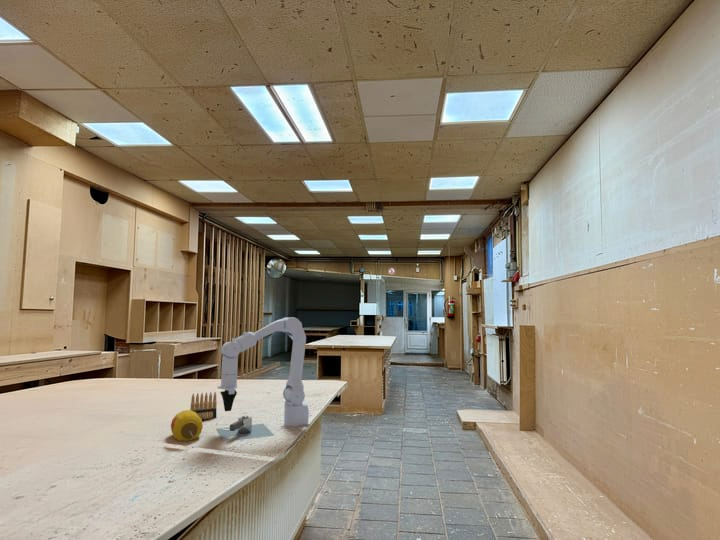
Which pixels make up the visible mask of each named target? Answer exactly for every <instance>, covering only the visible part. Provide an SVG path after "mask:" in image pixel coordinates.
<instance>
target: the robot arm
mask: <svg viewBox="0 0 720 540" xmlns="http://www.w3.org/2000/svg"><path fill="white" fill-rule="evenodd" d="M275 332H283V333H284V334H286V335H288V336H289V338H291V340H292V346H291V347H292V348H291V357H290V358H291V359H290V365H289V374H288V379H287V381H286V384H285V387H284V389H283V392H282V397H283V399H284V400H285V402H284V415H283V417H284V418H283V425H284V426H287V427H297V426H302V425H309V414H310V413H309V412H310V411H309V405H308V403H306V402H304V401H305V398H306V395H305V391H304V388H305V387H304V384H303V380H302V379H303V369H304V363H305V361H304V360H305V352H306V351H305V350H306V343H307V335H306V333H305V330H304V328H303V323H302V321H300V319H298V318H297V317H294V316H293V317H292V316H291V317H287V316H285V317H282V318H281V319H277V320H274V321H273V322H271V323H269V324H267V325H265V326H264V327H262V328H259V329H258V330H257V331H255V332H252V331H248V332H247V331H244V332H243V333H242V334H241V335H240V336H238V337H236V338H234V337H232V338H231V341H227V342H225V343H223V345H222V346H221V348H220V353H221V355H222V358H221V359H222V361H221V373H220V375H221V377H220V378H221V380H220V385H219V386H217V389H218V390H220V389H221V390H223V391H220V392H219V393H220V395H221V398H222V401H223V402H222V403H223V409H224V411H225V412H231V411H232V407H233V404H234V402H235V398H236V396H237V394H238V392H237V390H236V389H237V388H238V384H237V383H238V356H239V355H240V353H242V352H244V351H246V350H249V349H250V348H252V347H255V346H256V345H257V342H258V341H259V340H261V339H262V338H265V337H266V336H267V337H268V336H270V335H271V334H274V333H275Z"/></svg>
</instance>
